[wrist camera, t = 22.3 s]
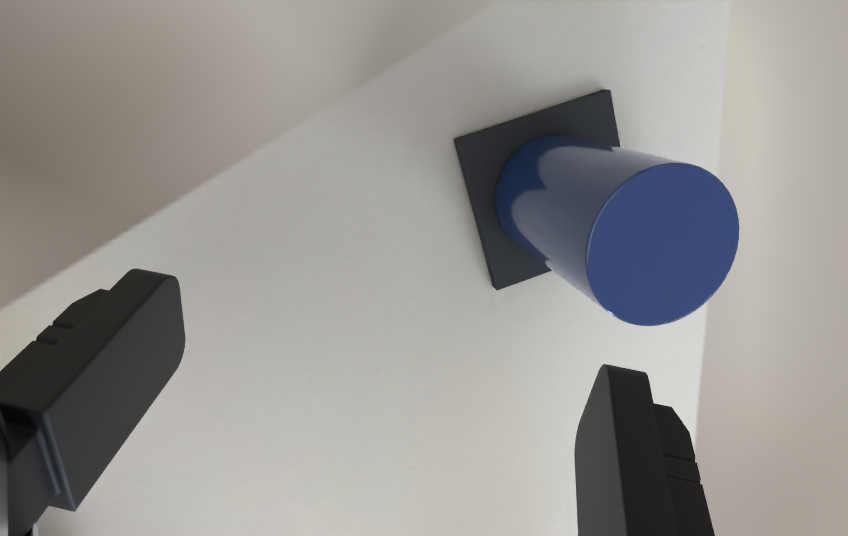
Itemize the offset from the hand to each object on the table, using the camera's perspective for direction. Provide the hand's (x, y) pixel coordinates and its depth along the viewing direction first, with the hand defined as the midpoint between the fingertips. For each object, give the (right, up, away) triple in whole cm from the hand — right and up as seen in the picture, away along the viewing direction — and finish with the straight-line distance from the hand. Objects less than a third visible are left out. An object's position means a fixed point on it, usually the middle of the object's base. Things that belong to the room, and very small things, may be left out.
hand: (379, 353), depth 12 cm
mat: (+7, +6, +20) cm, 22 cm away
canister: (+7, +5, +20) cm, 22 cm away
